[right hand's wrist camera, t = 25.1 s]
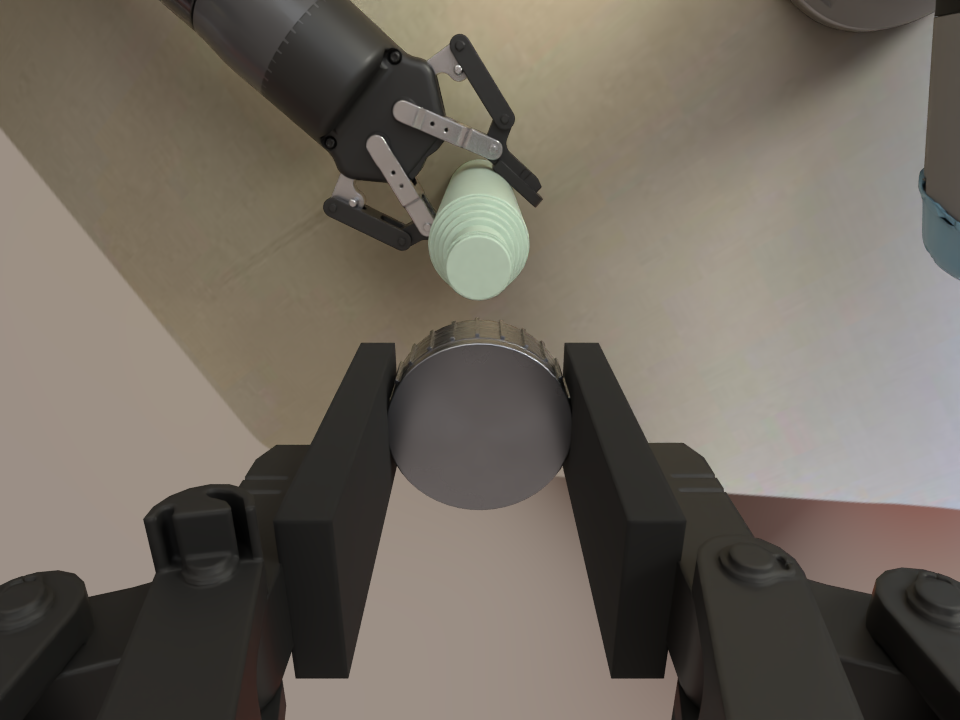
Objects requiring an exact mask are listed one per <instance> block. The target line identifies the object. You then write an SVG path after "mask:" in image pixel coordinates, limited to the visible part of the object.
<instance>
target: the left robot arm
mask: <svg viewBox="0 0 960 720" xmlns="http://www.w3.org/2000/svg"><path fill="white" fill-rule="evenodd" d="M159 1H160V2H162V3H163V4H164V5H165V6H166V7H167V8H168V9H170V10H171V11H172V12H173V13H174V14H175V15H177V16H178V17H179V18H180V19H181V20H182V21H184V22H185V23H186V24H187V25H188V26H189V27H191V28H192V29H193V30H194V31H195V32H196V33H197V34H198V35H199V36H200V37H201V38H202V39H204V40H205V42H206V43H207V44H208V45H209V46H210V47H211V48H212V49H213V50H214V51H215V52H216V54H217V55H218V56H219V57H220V58H221V59H222V60H223V61H224V62H225V63H226V64H227V65H228V66H229V67H230V68H231V69H233V70H234V71H235V72H236V73H237V74H238V75H240V76H241V77H242V78H243V79H244V80H245V81H247V82H248V83H249V84H250V85H251V86H252V87H253V88H255V89H256V90H257V91H258V92H259V93H261V94H262V95H263V96H264V97H265V98H266V99H268V100H269V101H270V102H271V103H272V104H273V105H275V106H276V107H277V108H278V109H279V110H280V111H282V112H283V113H284V114H285V115H286V116H287V117H289V118H290V119H291V120H292V121H293V122H294V123H296V124H297V125H298V126H299V127H300V128H301V129H303V130H304V131H305V132H306V133H307V134H308V135H310V136H311V137H312V138H313V139H314V140H315V141H317V142H318V143H319V144H320V145H321V146H322V147H324V148H325V149H326V150H327V151H328V152H329V153H330V155H331V156H332V157H333V159H334V161H335V163H336V166H337V168H338V170H339V171H340V173H341V174H340V176H339V179H338V181H337V184H336V186H335V189H334V191H333V194H332V196H331V197H330V198H329V199H327V200H326V201H325V202H324V205H323V209H324V212H325V213H326V214H327V215H328V216H329V217H331V218H333V219H336V220H338V221H340V222H342V223H344V224H346V225H348V226H350V227H352V228H354V229H356V230H358V231H361V232H363V233H365V234H367V235H369V236H371V237H373V238H375V239H377V240H379V241H381V242H383V243H385V244H388V245H390V246H392V247H394V248H396V249H398V250H401V251H404V250H407V249H408V248H409V247H410V246H412V245H414V244H416V243H417V242H419V241H421V240H428V239H429V233H430V229H431V226H432V224H433V221H434V219H435V216H436V212H435V210H434V209H433V207H432V205H431V203H430V202H429V200H428V198H427V197H426V195H425V193H424V190H423V188H422V186H421V185H420V183H419V181H418V179H417V178H416V175H417V174H418V173H419V172H420V170H421V169H422V168H423V166H424V164H425V162H426V159H427V157H428V156H429V155H431V154H432V153H434V152H435V151H436V150H437V149H438V148H439V147H440V146H441V145H442V143H443V142H444V141H447V142H449V143H451V144H454V145H456V146H458V147H461V148H464V149H467V150H469V151H471V152H473V153H476V154H478V155H480V156H483V157H485V158H487V159H488V160H489V161H490V162H491V163H492V164H493V165H492V168H493V169H494V170H495V171H496V172H497V173H498V174H499V175H500V176H501V177H503V178H504V179H505V180H506V181H507V182H508V183H509V184H510V185H511V186H512V187H513V188H514V189H515V190H517V191H518V192H519V193H520V194H521V195H522V196H523V197H524V198H525V199H526V200H527V201H528V202H530V203H531V204H532V205H533V206H534V207H535V208H536V207H537V206H538V204H539V203H540V202H541V201H542V200H543V199H542V197H541V196H540V195H539V194H538V193H537V192H538V190H539V189H540V188H541V184H540V182H539V180H538V178H537V177H536V176H535V175H534V174H533V173H532V172H531V171H530V170H529V169H527V168H526V167H525V166H524V165H523V164H522V163H521V162H520V161H519V160H518V159H517V158H516V157H515V156H514V155H512V154H511V153H510V152H509V151H508V149H507V145H506V141H507V138H508V135H509V132H510V130H511V127H512V126H513V124H514V122H515V116H514V114H513V112H512V110H511V108H510V107H509V105H508V104H507V102H506V100H505V99H504V97H503V95H502V94H501V92H500V90H499V89H498V87H497V85H496V84H495V82H494V80H493V79H492V77H491V75H490V74H489V72H488V70H487V69H486V67H485V65H484V64H483V62H482V61H481V59H480V57H479V56H478V54H477V52H476V51H475V49H474V47H473V46H472V44H471V42H470V41H469V39H468V38H467V37H466V36H465V35H463V34H457V35H455V36H453V37H452V39H451V41H450V44H449V45H447V46H446V47H445V48H443V49H442V50H441V51H439V52H438V53H437V54H435V55H434V56H433V57H431V58H430V59H429V60H427V61H426V60H424V59H422V58H418V57H414V56H411V55H409V54H407V53H406V52H405V51H403V50H402V49H401V48H400V47H399V46H398V45H397V44H396V43H395V42H394V41H393V40H392V39H391V38H389V37H388V36H387V35H386V34H385V33H384V32H383V31H382V30H381V29H380V28H379V27H378V26H377V25H376V24H375V23H374V22H372V21H371V20H370V19H369V18H368V17H367V16H366V15H365V14H364V13H363V12H362V11H361V10H360V9H359V8H358V7H356V6H355V5H354V4H353V3H352V2H351V1H350V0H159ZM440 73H446V74H448V75H449V76H450V77H451V78H452V79H453V80H455V81H457V82H461V81H463V80H465V79H466V78H468V80H469V82H470V83H471V85H472V86H473V88H474V90H475V91H476V93H477V95H478V96H479V98H480V99H481V101H482V103H483V104H484V106H485V108H486V109H487V111H488V112H489V114H490V116H491V117H492V119H493V120H492V123H491V125H490V128H489V131H488V133H487V134H485V133H483V132H481V131H478V130H476V129H474V128H472V127H470V126H468V125H465V124H463V123H461V122H459V121H456V120H454V119H452V118H450V117H447V116H446V113H445V109H444V105H443V100H442V96H441V92H440V87H439V83H438V79H437V75H438V74H440ZM356 180H363V181H374V182H384V183H389V185H390V187H391V188H392V190H393V192H394V193H395V195H396V196H397V198H398V200H399V201H400V203H401V205H402V206H403V207H404V208H405V209H406V210H407V212H408V214H409V215H410V217H411V219H412V220H413V221H412V222H410V223H408V224H404V223H402V222H400V221H398V220H396V219H394V218H392V217H390V216H388V215H386V214H384V213H382V212H380V211H377V210H375V209H373V208H371V207H369V206H367V205H365V204H366V196H365V195H364V193H362V192H361V191H360V190H359V189H358V188H357V186H356Z"/></svg>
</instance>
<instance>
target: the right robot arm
mask: <svg viewBox="0 0 960 720" xmlns="http://www.w3.org/2000/svg"><path fill="white" fill-rule="evenodd" d="M791 2H792V3H793V4H794V5H795V6H796V7H797V8H798V9H799V10H801V11H802V12H803V13H804V14H806V15H807V16H808V17H810V18H812V19H813V20H815V21H817V22H819V23H821V24H823V25H825V26H828V27H831V28H834V29H838V30H844V31H852V32H869V31H876V30H883V29H888V28H893V27H897V26H901V25H905V24H907V23H910V22H913V21H916V20H918V19H920V18H922V17H925V16H927V15H929V14H931V13H933V12H935V16H938V17H935V16H934V25H933V41H932V56H931V71H930V87H929V102H928V117H927V133H926V148H925V164H924V168H923V169H922V170H921V172H920V175H919V184H918V186H919V191H920V194H921V197H922V200H923V214H922V237H923V242H924V246H925V248H926V250H927V251H928V252H929V253H930V255H931V257H932V258H933V259H934V261H935V263H936V264H937V265H938V266H939V267H940V268H941V269H943V270H944V271H945V272H947V273H948V274H950V275H951V276H953V277H955V278H956V279H958V280H960V0H791ZM956 12H957V13H956ZM396 374H397V372H396V353H395V343H361V344H360V346H359V348H358V350H357V352H356V354H355V356H354V358H353V360H352V362H351V364H350V366H349V368H348V370H347V372H346V374H345V376H344V378H343V380H342V382H341V384H340V386H339V388H338V390H337V392H336V394H335V396H334V398H333V400H332V402H331V404H330V406H329V408H328V411H327V413H326V415H325V417H324V419H323V421H322V423H321V425H320V427H319V429H318V431H317V433H316V435H315V437H314V439H313V441H312V443H311V445H276V446H274V447H273V448H271V449H270V450H269V451H267V452H266V453H265V454H263V455H262V456H260V457H259V458H257V459H256V460H255V462H254V463H253V465H252V467H251V468H250V470H249V471H248V473H247V475H246V476H245V480H243V481H242V483H241V484H240V486H239V487H237V486H234V485H230V484H209V485H204V486H199V487H194V488H189V489H187V490H184V491H182V492H179V493H176V494H174V495H171V496H169V497H168V498H166V499H164V500H163V501H161V502H160V503H158V504H157V505H155V506H154V507H153V508H152V509H151V510H150V511H149V513H148V514H147V515H146V516H145V518H144V519H143V520H144V524H145V528H146V533H147V537H148V541H149V546H150V550H151V554H152V558H153V563H154V567H155V571H156V574H155V577H154V579H153V581H152V582H150V583H147V584H143V585H140V586H136V587H133V588H128V589H123V590H119V591H114V592H110V593H105V594H100V595H96V596H91V597H88V594H87V591H86V587H85V584H84V581H82V580H81V579H80V578H79V577H78V576H77V575H76V574H74V573H69V572H64V571H59V570H57V571H46V572H36V573H33V574H29V575H26V576H21V577H18V578H16V579H13V580H10V581H8V582H6V583H4V584H2V585H0V720H285V712H286V701H285V694H284V688H283V681H282V678H283V675H284V672H285V669H286V666H287V663H288V661H289V658H290V655H291V652H292V656H293V663H294V670H295V677H296V678H348V677H349V673H350V669H351V664H352V660H353V655H354V651H355V647H356V642H357V638H358V634H359V629H360V625H361V620H362V616H363V611H364V607H365V603H366V599H367V594H368V590H369V585H370V581H371V577H372V572H373V568H374V564H375V559H376V555H377V550H378V546H379V542H380V537H381V533H382V529H383V524H384V520H385V516H386V511H387V507H388V502H389V498H390V494H391V489H392V485H393V480H394V476H395V472H396V467H397V465H396V463H395V461H394V459H393V457H392V455H391V452H390V449H389V435H388V417H387V410H388V406H389V403H390V398H391V395H392V392H393V388H394V385H395V383H394V380H395V377H396ZM563 378H565V382H566V385H567V388H568V391H569V395H570V404H571V408H572V427H571V444H570V451H569V453H568V456H567V458H566V460H565V462H564V464H563V469H564V474H565V478H566V482H567V487H568V491H569V495H570V500H571V504H572V509H573V513H574V517H575V522H576V526H577V530H578V535H579V539H580V544H581V548H582V552H583V556H584V561H585V565H586V570H587V574H588V578H589V583H590V587H591V592H592V596H593V600H594V605H595V609H596V613H597V618H598V622H599V627H600V631H601V635H602V640H603V644H604V649H605V653H606V657H607V662H608V666H609V670H610V675H611V678H664V674H665V667H666V660H667V654H668V650H669V653H670V656H671V659H672V661H673V664H674V667H675V670H676V673H677V676H678V681H677V688H676V694H675V700H674V707H673V713H672V720H960V582H958V581H956V580H954V579H952V578H950V577H948V576H944V575H942V574H939V573H938V574H937V573H935V572H931V571H927V570H923V569H912V568H897V569H892V570H887V571H885V572H884V573H883V574H881V575H880V576H879V577H878V578H877V579H876V582H875V585H874V589H873V592H872V594H867V593H863V592H858V591H854V590H849V589H844V588H840V587H835V586H830V585H826V584H823V583H819V582H815V581H812V580H809V579H807V578H806V575H805V573H804V571H803V570H802V568H801V567H800V566H799V564H798V563H797V561H796V560H795V559H794V558H793V557H792V556H790V555H789V554H788V553H786V552H785V551H784V550H782V549H781V548H780V547H778V546H776V545H773V544H771V543H769V542H767V541H764V540H762V539H759V538H755V537H754V536H753V534H752V533H751V531H750V529H749V528H748V526H747V525H746V523H745V522H744V520H743V518H742V517H741V515H740V514H739V512H738V510H737V509H736V507H735V506H734V504H733V503H732V501H731V499H730V498H729V496H728V495H727V493H726V492H724V488H723V487H722V485H721V484H720V482H719V480H718V479H717V478H715V474H714V473H713V471H712V469H711V468H710V466H709V465H708V463H707V462H706V460H705V458H704V457H703V456H701V455H700V454H698V453H697V452H695V451H694V450H693V449H691V448H690V447H688V446H687V445H686V444H684V443H648V442H647V440H646V438H645V436H644V434H643V432H642V430H641V428H640V426H639V423H638V421H637V419H636V417H635V415H634V413H633V411H632V409H631V407H630V405H629V403H628V401H627V399H626V397H625V395H624V393H623V391H622V389H621V387H620V385H619V383H618V381H617V379H616V377H615V375H614V373H613V371H612V369H611V367H610V365H609V363H608V361H607V359H606V357H605V355H604V353H603V351H602V349H601V347H600V345H599V343H565V345H564V364H563Z"/></svg>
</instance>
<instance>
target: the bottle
mask: <svg viewBox="0 0 960 720" xmlns="http://www.w3.org/2000/svg"><path fill="white" fill-rule="evenodd" d="M492 165H493V164H492V163H491V162H490V161H488V160H483V159H477V160H472V161H469V162H466V163H464V164H463V165H461V166H460V167H459V168H458V169H457V170H456V171H455V172H454V174H453V175H452V177H451V180H450V182H449V184H448V187H447V189H446V192H445V194H444V197H443V199H442V202H441V204H440V206H439V209H438V211H437V214H436V216H435V219H434V221H433V224H432V226H431V229H430V233H429V239H428V249H429V255H430V259H431V262H432V264H433V266H434V268H435V270H436V271H437V273H438V274H439V275H440V277H441V278H442V279H443V280H444V281H445V282H446V283H447V284H449V285H450V286H451V287H452V289H453V290H454V291H455V292H456V293H458V294H459V295H461V296H462V297H465V298H467V299H470V300H479V301H481V300H487V299H491V298H493V297H495V296H497V295H499V294H500V293H501V292H502V291H504V290H505V288H506V287H507V286H508V285H509V284H510V283H511V282H512V281H514V280H515V278H516V277H517V276H518V275H519V274H520V272H521V271H522V269H523V267H524V265H525V263H526V260H527V257H528V253H529V235H528V231H527V228H526V225H525V222H524V219H523V217H522V214H521V211H520V208H519V206H518V203H517V200H516V198H515V195H514V192H513V189H512V187H511V185H510V184H509V183H508V182H507V181H506V180H505V179H504V178H503V177H501V176H500V175H499V174H498V173H497V172H496V171H495V170H494V169H493V168H492Z"/></svg>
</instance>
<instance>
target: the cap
mask: <svg viewBox="0 0 960 720" xmlns="http://www.w3.org/2000/svg"><path fill="white" fill-rule="evenodd" d="M394 383H395V385H394V388H393V392H392V395H391V398H390V403H389V406H388V410H387V417H388V435H389V449H390V452H391V455H392V457H393V459H394V461H395V463H396V465H397V466H398V468H399V469H400V471H401V472H402V474H403V475H404V476H405V477H406V478H407V480H408V481H409V482H410V483H411V484H412V485H414V486H415V487H416V488H417V489H418V490H420V491H421V492H423V493H424V494H425V495H427V496H429V497H431V498H433V499H435V500H436V501H439V502H442V503H444V504H447V505H450V506H454V507H457V508H463V509H470V510H488V509H496V508H502V507H506V506H509V505H513V504H516V503H518V502H520V501H523V500H525V499H527V498H529V497H530V496H532V495H534V494H536V493H537V492H538V491H540V490H541V489H542V488H544V487H545V486H546V485H547V484H548V483H549V482H550V481H551V480H552V479H553V478H554V477H555V475H556V474H557V473H558V472H559V470H560V469H561V467H562V465H563V464H564V462H565V460H566V458H567V456H568V453H569V451H570V444H571V427H572V408H571V404H570V395H569V391H568V388H567V385H566V382H565V378H563V376H562V372H561V369H560V366H559V362H558V360H557V358H553V357H552V356H551V354H550V353H549V351H548V350H547V349H546V348H545V345H544V342H543V341H541V342H539V341H538V340H536V339H535V338H534V337H533V336H531V335H529V334H528V333H526V329H524V328H522V329H518V328H516V327H514V326H512V325H508V324H505V323H504V322H503V320H499V322H496V321H490V320H480V319H479V318H476V320H471V321H463V322H459V323H456V321H453V322H452V324H451V325H448V326H445V327H443V328H441V329H439V330H437V331H434V330H432V331H430V335H429V336H427V337H426V338H424V339H423V340H422V341H421V342H420V343H418V344H417V345H416V344H414V345H413V346H412V349H411V352H410V353H409V354H408V356H407V358H406V359H405V361H404V362H402V361H401V362H400V364H399V368H398V371H397V374H396V377H395V380H394Z"/></svg>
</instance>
